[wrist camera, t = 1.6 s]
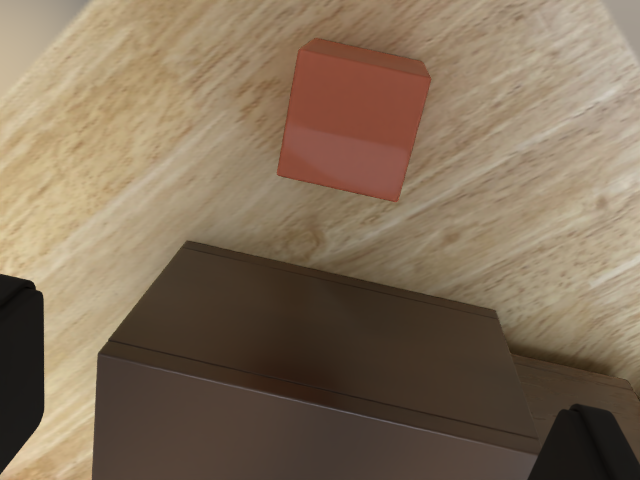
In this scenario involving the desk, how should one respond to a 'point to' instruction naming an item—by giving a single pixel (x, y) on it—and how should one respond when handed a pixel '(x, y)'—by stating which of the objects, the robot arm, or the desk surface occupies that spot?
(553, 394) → the drawer
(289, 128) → the block
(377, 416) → the cabinet
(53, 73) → the desk surface
